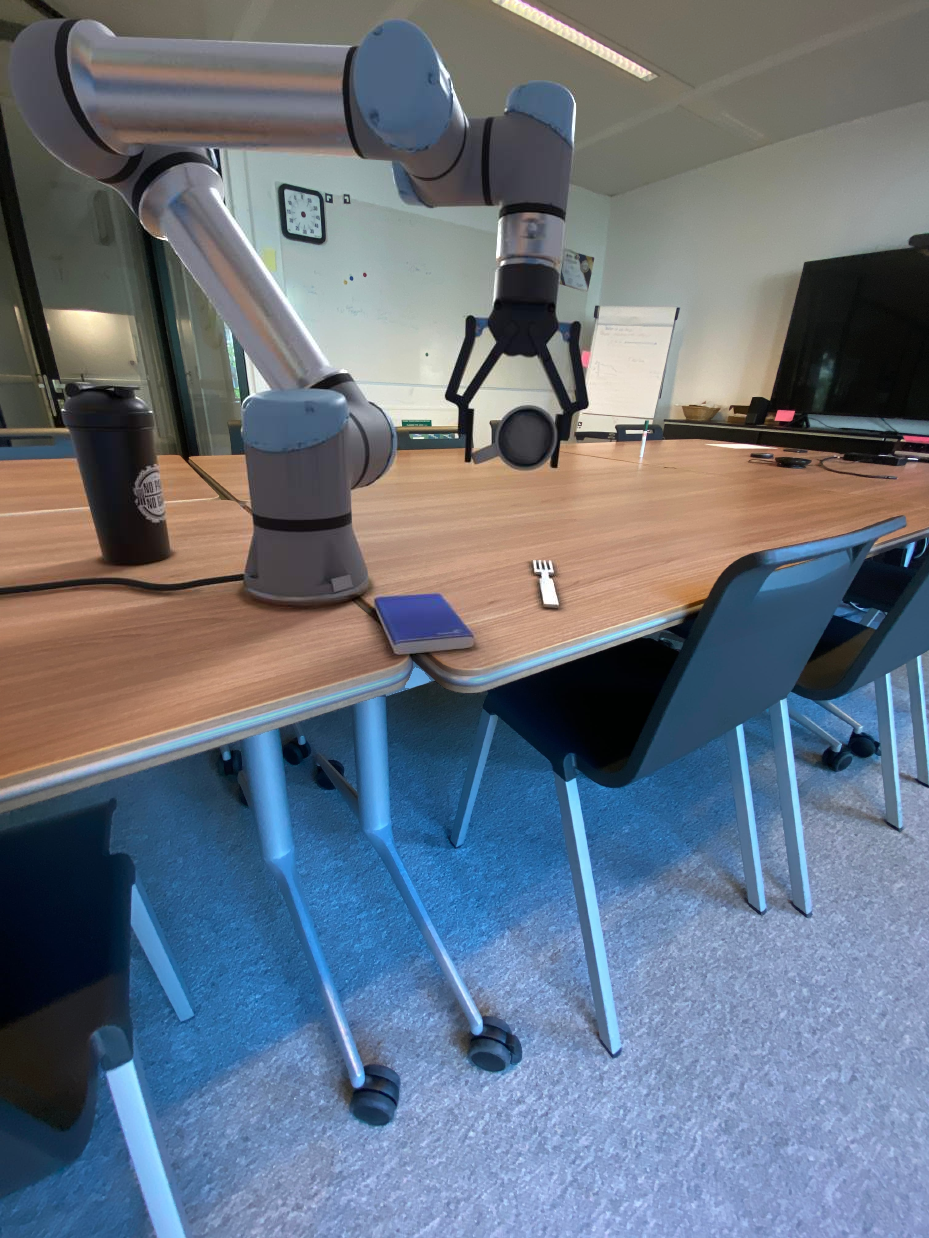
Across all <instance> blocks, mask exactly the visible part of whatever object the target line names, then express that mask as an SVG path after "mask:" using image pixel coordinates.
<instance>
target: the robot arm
mask: <svg viewBox="0 0 929 1238" xmlns="http://www.w3.org/2000/svg"><path fill="white" fill-rule="evenodd" d="M8 79H9V83H10V87H11V93H12V96H13V98H14V102H15V104H16V106H17V109H18V111H19V113H20V115H21V116H22V118H23V120H24V122H25V124H26V125H27V127H28V129H29V130H30V132H32V134H33V135H34V137H35V138H36V139H37V141H38V142H39V143H40V144H41V145H42V146H43V147H44V148H45V149H46V151H48V152H49V153H50V154H51V155H52V156H54V157H55V158H56V159H57V160H59V162H61V163H63V164H64V165H65V166H67V167H68V168H69V169H71V170H74V171H75V172H77V173H79V174H81V175H83V176H86V177H87V178H90V179H93V180H94V181H97V182H98V183H101V184H102V185H105V186H108V187H110V188H112V189H114V190H115V191H116V192H117V193H119V195H120V196H121V197H122V199H124V201H125V202H126V204H127V206H128V207H129V208H130V209H131V211H132V212H133V214H134V215H135V217H136V218H137V219H138V221H139V222H140V223H141V225H142V227H143V228H144V230H146V231H147V232H148V234H150V235H151V236H152V237H155V238H157V239H159V240H163V241H167V242H168V243H169V245H170V246H171V247H172V249H173V250H174V252H175V253H176V255H177V256H178V257H179V259H180V260H181V262H182V263H183V265H184V266H185V267H186V269H187V271H188V272H189V273H190V275H191V276H192V278H193V279H194V280H195V283H197V285H198V286H199V288H200V289H201V291H202V292H203V294H204V295H205V296H206V298H207V299H208V300H209V302H210V304H211V305H212V306H213V308H214V309H215V310H216V312H217V314H218V315H219V317H220V318H221V319H222V321H223V322H224V324H225V325H226V326H227V328H228V329H229V331H230V332H231V334H232V335H233V337H234V338H235V339H236V341H237V342H238V344H239V345H240V346H241V348H242V350H243V351H244V352H245V354H246V355H247V356H248V359H250V361H251V362H252V364H253V365H254V367H255V368H256V369H257V371H258V372H259V374H260V376H261V377H262V378H263V380H264V381H265V383H266V384H267V385H268V387H269V388H270V390H269V389H268V390H263V391H258V392H255V393H252V394H250V395H248V396H247V397H246V398H245V399H244V400H243V401H242V404H241V408H240V409H241V410H240V411H241V428H240V436H241V439H242V441H243V449H244V450H243V451H244V456H245V457H244V458H245V466H246V474H247V483H248V491H249V492H248V493H249V500H250V508H251V516H252V524H253V526H252V527H253V531H252V537H251V541H250V545H249V550H248V554H247V558H246V562H245V567H244V570H243V573H237V574H229V575H221V576H213V577H206V578H201V579H195V580H190V581H184V582H177V583H156V582H155V583H154V582H149V581H148V582H147V581H142V580H138V579H132V578H126V577H115V576H114V577H113V576H112V577H109V576H108V577H86V578H73V579H65V580H57V581H50V582H41V583H31V584H21V585H13V586H3V587H0V596H4V595H5V596H7V595H15V594H22V593H23V594H24V593H32V592H33V593H34V592H42V591H51V590H58V589H67V588H76V587H84V586H96V585H97V586H98V585H99V586H100V585H116V586H117V585H118V586H126V587H133V588H138V589H143V590H147V591H148V590H149V591H154V592H155V591H158V592H175V591H176V592H177V591H184V590H190V589H195V588H200V587H207V586H212V585H213V586H214V585H220V584H227V583H235V582H243V586H244V587H243V588H244V593H245V595H246V597H248V598H249V599H251V600H252V601H254V602H257V603H259V604H263V605H267V606H271V607H278V608H286V609H287V608H290V609H307V608H309V609H310V608H320V607H321V608H322V607H326V606H327V607H328V606H334V605H338V604H342V603H345V602H348V601H352V600H353V599H356V598H358V597H360V596H361V595H363V594H365V592H366V591H367V590H368V589H369V572H368V567H367V564H366V562H365V561H366V560H365V558H364V556H363V553H362V549H361V547H360V545H359V542H358V539H357V537H356V534H355V532H354V529H353V513H352V512H353V511H352V491H354V490H357V489H361V488H364V487H365V488H366V487H369V486H371V485H373V484H375V482H376V481H378V480H380V479H381V478H382V477H383V476H385V475H386V474H387V472H388V471H389V470H390V469H391V467H392V466H393V464H394V462H395V459H396V456H397V450H398V433H397V431H396V427H395V424H394V422H393V419H392V418H391V417H390V416H389V414H388V413H387V412H386V411H385V410H384V409H383V408H382V407H380V406H379V405H378V404H376V403H375V402H373V401H370V400H367V398H366V397H365V395H364V393H363V392H362V390H361V388H360V387H359V386H358V384H357V382H356V381H355V379H354V377H352V375H351V373H349V371H348V370H345V369H340V368H335V367H334V366H332V365H331V363H330V362H329V360H328V358H327V357H326V356H325V354H324V353H323V352H322V350H321V348H320V347H319V345H318V343H317V342H316V341H315V339H314V338H313V336H312V335H311V333H310V331H309V329H307V327H306V325H305V324H304V323H303V321H302V320H301V318H300V317H299V315H298V314H297V312H296V310H295V309H294V308H293V305H292V304H291V303H290V302H289V299H287V297H286V294H284V292H283V291H282V289H281V287H280V286H279V285H278V283H277V282H276V280H275V278H274V277H273V275H272V274H271V272H270V271H269V270H268V268H267V267H266V265H265V264H264V262H263V260H262V259H261V258H260V256H259V255H258V253H257V251H256V250H255V248H254V247H253V246H252V244H251V243H250V241H249V239H248V238H247V236H246V235H245V233H244V232H243V230H242V228H241V227H240V226H239V225H238V223H237V222H236V219H235V218H234V217H233V215H232V214H231V212H230V211H229V209H228V208H227V206H226V205H225V203H224V201H225V195H226V193H225V192H226V190H225V184H224V180H223V178H222V177H221V175H220V174H219V172H218V171H217V169H218V167H219V165H218V161H217V157H216V154H215V150H227V151H241V152H242V151H244V152H257V153H258V152H259V153H273V154H274V153H275V154H291V155H304V156H306V155H308V156H319V157H320V156H321V157H337V158H350V159H351V158H352V159H362V160H370V161H385V162H386V161H387V162H390V165H391V173H392V179H393V184H394V186H395V187H396V191H397V195H398V197H399V198H400V200H401V201H402V202H403V203H404V204H406V205H408V206H413V207H414V206H415V207H424V208H427V209H434V208H449V207H450V208H452V207H453V208H454V207H499V208H498V209H499V210H498V212H499V213H498V223H497V235H496V236H497V237H496V238H497V239H496V253H495V254H496V255H495V261H496V263H497V265H499V266H498V267H497V268H496V270H495V271H494V282H493V283H494V284H493V296H492V298H493V299H492V309H491V312H490V314H489V316H488V317H478V316H477V317H475V316H474V315H473V314H469V315H467V316H466V317H465V321H464V322H465V323H464V325H465V326H464V331H465V332H464V338H463V341H462V344H461V347H460V350H459V352H458V356H457V359H456V362H455V364H454V367H453V370H452V372H451V376H450V379H449V382H448V385H447V387H446V390H445V393H444V400H446V401H447V402H449V403H451V404H454V405H455V406H456V407H457V410H458V411H457V413H458V414H457V433H458V435H465V445H464V463H468V464H470V463H471V462H472V457H471V453H473V440H474V439H473V438H474V422H475V408H474V407H473V408H471V407H470V404H471V402H472V401H473V399H474V398H475V396H476V394H477V393H478V392H479V390H480V389H481V387H482V386H483V384H484V383H485V381H486V380H487V378H488V376H489V375H490V373H491V372H492V371H493V369H494V367H495V366H496V364H497V363H498V361H499V360H500V358H501V357H502V355H505V356H507V357H510V358H512V357H513V358H514V357H519V356H521V357H523V358H527V359H529V358H530V359H532V358H535V357H537V359H538V361H539V363H540V365H541V367H542V369H543V371H544V373H545V376H546V378H547V381H548V383H549V385H550V387H551V389H552V391H553V393H554V395H555V397H556V401H557V402H558V405H559V407H560V410H561V413H555V416H554V423H555V425H556V429H557V443H556V447H555V450H554V452H553V454H552V456H551V457H550V459H549V461H550V462H549V466H550V468H551V469H558V468H559V467H558V466H559V457H560V449H561V442H569V440H570V437H571V429H572V421H573V416H574V414H575V413H578V412H581V411H584V410H586V409H588V408H589V406H590V402H589V394H588V390H587V383H586V377H585V372H584V365H583V360H582V354H581V348H580V338H581V331H582V324H581V322H580V321H579V320H574V321H572V322H569V321H568V322H566V321H559V320H558V317H557V303H558V295H559V294H558V293H559V285H560V275H561V274H560V273H559V271H558V269H557V268H558V267H559V266H560V265H561V263H562V258H563V257H562V256H563V247H564V236H565V226H566V218H567V217H566V216H567V209H568V202H569V194H570V193H569V191H570V186H571V185H570V184H571V175H572V167H573V161H574V160H573V159H574V153H575V149H574V147H575V146H574V145H575V133H576V117H577V115H576V114H577V103H576V102H575V98H574V96H573V95H572V93H571V91H569V89H568V88H566V87H565V86H564V85H562V84H560V83H557V82H555V81H554V82H553V81H550V80H542V79H541V80H539V79H538V80H530V81H528V82H527V84H524V83H523V84H518V85H516V86H515V87H514V88H513V89H512V90H511V91H510V92H509V94H508V96H507V98H506V103H505V107H504V110H503V115H495V116H488V117H467V116H466V113H465V112H464V109H463V107H462V104H461V102H460V99H458V96H457V94H456V91H455V89H454V86H453V81H452V78H451V77H450V71H449V69H448V68H447V66H446V64H445V61H444V60H443V58H442V56H441V55H440V52H438V50H437V49H436V48H435V47H434V45H433V43H432V42H431V39H430V38H429V37H428V35H426V33H425V32H424V31H423V30H422V29H421V28H420V27H419V26H417V25H416V24H415V23H413V22H412V21H411V22H410V21H408V20H406V19H402V18H390V19H387V20H384V21H383V22H382V23H380V24H378V25H377V26H376V27H375V28H374V29H371V30H370V31H368V32H367V34H366V35H365V36H364V38H363V39H362V41H361V43H360V45H341V44H339V45H336V44H314V43H313V44H312V43H290V42H289V43H285V42H267V41H266V42H264V41H263V42H262V41H240V40H212V39H211V40H210V39H189V38H188V39H187V38H184V39H183V38H167V37H165V38H162V37H140V36H139V37H137V36H116V34H115V33H114V32H113V31H112V30H111V29H109V28H108V27H107V26H106V25H104V24H103V23H101V22H100V21H97V20H93V19H85V18H48V19H44V20H39V21H36V22H33V23H30V24H29V25H28V26H26V27H25V28H24V29H22V30H21V31H20V32H19V33H18V35H17V36H16V38H15V39H14V42H13V43H12V46H11V48H10V52H9V58H8ZM485 329H488V331H489V332H490V333H491V336H492V337H493V339H494V341H495V343H494V344H493V347H492V348H491V349H490V351H489V353H488V355H487V356H486V358H485V359H484V361H483V363H482V365H480V367H479V369H478V370H477V372H476V373H475V374H474V375H475V376H474V377H472V380H471V381H470V382H469V385H468V386H467V387H466V389H465V391H464V392H463V393H462V395H461V394H460V393H458V392H459V389H460V386H461V384H462V381H463V378H464V375H465V372H466V369H467V366H468V364H469V362H470V358H471V356H472V353H473V350H474V347H475V344H476V340H477V338H481V336H482V335H483V332H484V330H485ZM556 333H559V335H560V337H561V338H560V339H561V341H562V342H563V343H566V354H567V358H568V364H569V365H568V366H569V371H570V375H571V376H570V377H571V381H572V385H573V387H572V388H573V392H574V397H575V400H574V401H571V398H570V396H569V394H568V392H567V388H566V387H565V385H564V383H563V380H562V377H561V376H560V373H559V371H558V369H557V367H556V364H555V362H554V360H553V357H552V354H551V352H550V349H549V348H548V344H549V342H550V341H551V339H552V338H553V337H554V336H555V334H556Z"/></svg>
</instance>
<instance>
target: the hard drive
mask: <svg viewBox="0 0 929 1238" xmlns="http://www.w3.org/2000/svg"><path fill="white" fill-rule="evenodd" d="M373 603H374V605H373V606H374V609H375V612H376V614H377V616H378V619H379V621H380V623H381V626H382V627H383V631H384V632H385V635H386V637H387V639H388V641H389V644H390V646H391V649H392V650H393V654H395V655H410V654H420V653H429V652H430V653H432V652H439V651H441V652H442V651H452V650H461V649H469V648H472V647H473V646H474V645H475V644H474V642H475V638H474V634H473V633H472V631H471V630H470V629H469V628H468V626H467V625H466V624H465V623H464V621H463V620H462V619H461V618H460V617H459V615H458V613H456V611H455V610H454V609H453V607H452V606H451V604H449V603H448V601H447V600H446V599H445V597H444V596H443V595H442V593H438V592H436V593H421V594H420V593H418V594H407V595H391V596H390V595H388V596H377V597H375V598H374V599H373Z"/></svg>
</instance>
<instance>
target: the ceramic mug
mask: <svg viewBox="0 0 929 1238" xmlns="http://www.w3.org/2000/svg"><path fill="white" fill-rule="evenodd" d="M556 443H557V429H556V425H555V419H554V418H553V417H552V416H551V414H550V413H549V412H548V411H546V409H543V408H542V407H539V406H537V405H533V404H523V405H519V406H516V407H514V408H513V409H511V410H509V411H508V412H507V413H506V414H505V415H504V416H503V417H502V418H501V420H500V421H499V423H498V425H497V427H496V431H495V434H494V443H491V444H489V445H487V446H484V447H482V448H479V449H477V450H474V451H472V453H471V457H472V458H471V460H472V462H473V464H474V465H480V464H482V463H485V462H488V461H490V460H493V459H495V458H497V457H499V458H500V460H501V461H502V462H503V463H504V464H505V465H506V466H508V467H510V468H511V469H514V470H516V471H524V472H527V471H534V470H536V469H539V468H541V467H542V466H543V465H545V464H546V463H547V462H548V461H550V459H551V456H552V454H553V452H554V450H555V447H556Z"/></svg>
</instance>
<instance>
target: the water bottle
mask: <svg viewBox="0 0 929 1238" xmlns="http://www.w3.org/2000/svg"><path fill="white" fill-rule="evenodd" d="M140 390H141V387H140V386H139V385H138V386H137V385H111V384H110V385H96V384H94V383H92V382H91V383H90V382H79V381H78V382H77V381H75V382H74V381H73V382H68V383H66V384H65V386H64V392H65V394H66V396H67V397H68V398H67V399H66V400H65V402H64V404H63V408H61V410H60V413H61V417H62V421H63V424H64V426H65V429H67V430H68V433H69V436H70V439H71V443H72V448H73V451H74V455H75V458H76V463H77V466H78V469H79V474H80V478H81V481H82V485H83V488H84V492H85V496H86V499H87V503H88V508H89V510H90V514H91V515H90V516H91V519H92V522H93V525H94V530H95V533H96V537H97V540H98V545H99V548H100V552H101V555H102V559H103V562H105V563H107V564H109V565H115V566H136V565H137V566H138V565H147V564H152V563H156V562H159V561H163V560H166V559H167V558H169V557H171V555H172V551H171V544H170V538H169V537H170V536H169V531H168V523H167V517H166V506H165V501H164V494H163V486H162V480H161V472H160V466H159V461H158V455H157V447H156V441H155V433H154V430H155V426H156V421H155V415H154V412H153V411H151V410H150V408H149V406H148V404H146V402H144V401H143V400H142V399H141V398H139V397H138V396H136V393H135V391H140Z"/></svg>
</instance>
